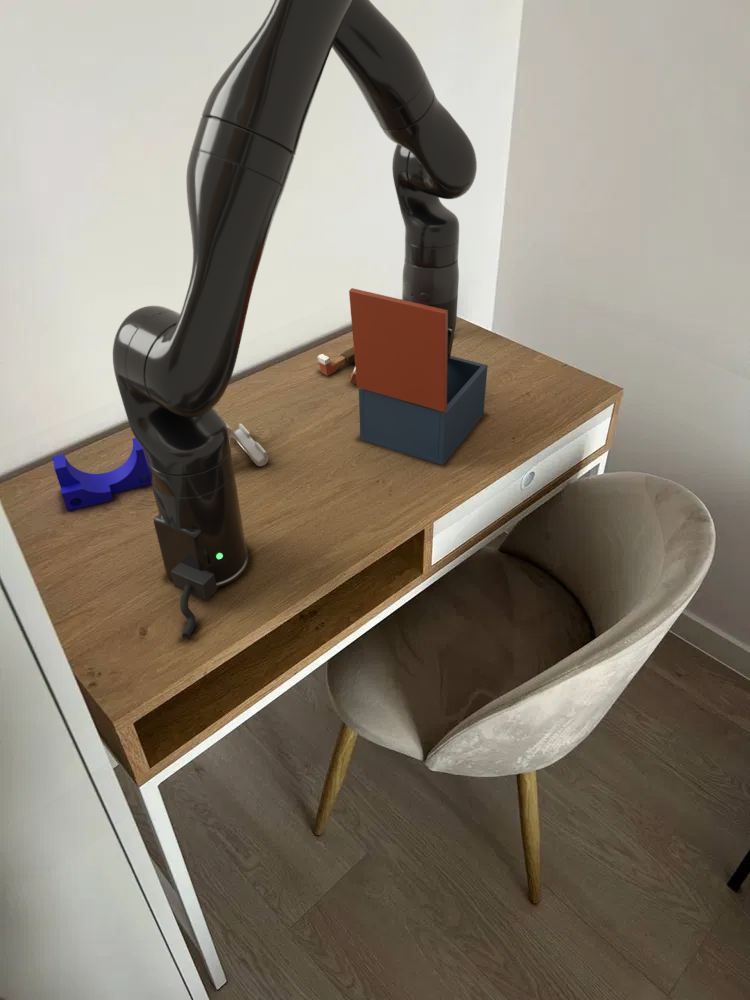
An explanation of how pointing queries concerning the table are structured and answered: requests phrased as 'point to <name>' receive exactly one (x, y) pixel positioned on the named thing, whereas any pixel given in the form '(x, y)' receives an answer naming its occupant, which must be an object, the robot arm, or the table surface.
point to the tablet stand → (248, 445)
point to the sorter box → (427, 415)
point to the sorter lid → (400, 348)
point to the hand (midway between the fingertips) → (426, 396)
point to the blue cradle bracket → (100, 480)
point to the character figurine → (337, 363)
